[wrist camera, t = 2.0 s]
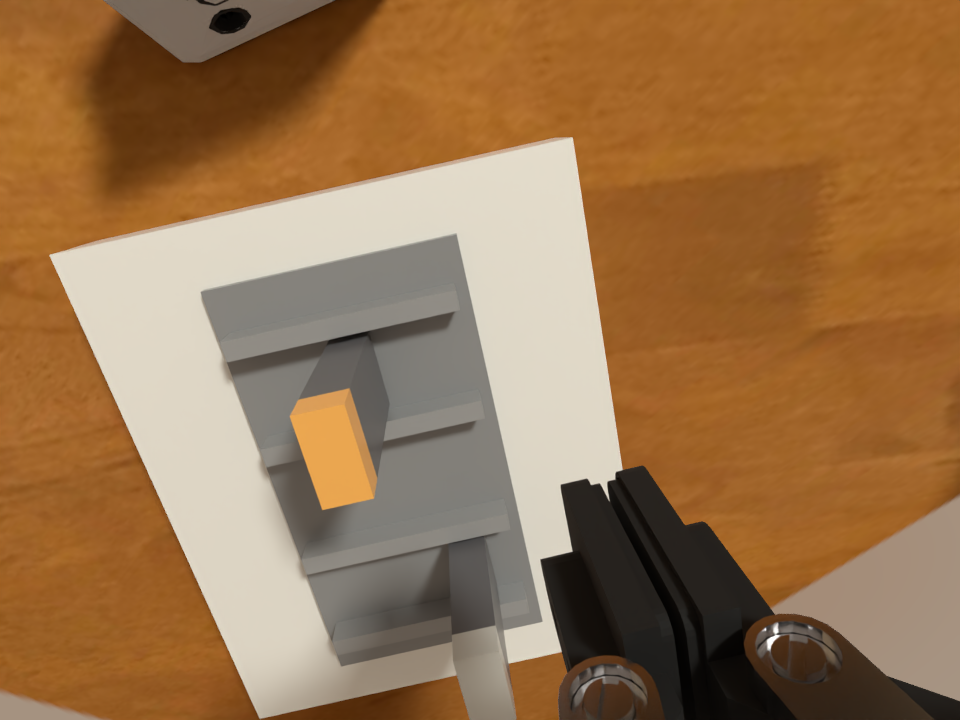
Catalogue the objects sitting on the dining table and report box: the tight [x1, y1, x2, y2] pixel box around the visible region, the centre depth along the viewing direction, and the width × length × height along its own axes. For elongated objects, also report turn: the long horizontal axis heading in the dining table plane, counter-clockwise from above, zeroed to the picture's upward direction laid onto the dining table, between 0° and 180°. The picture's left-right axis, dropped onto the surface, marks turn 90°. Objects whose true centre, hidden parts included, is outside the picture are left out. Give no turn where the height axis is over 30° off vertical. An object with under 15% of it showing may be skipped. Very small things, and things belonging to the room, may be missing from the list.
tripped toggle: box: [290, 331, 390, 510], centre depth 22 cm, size 2×3×7 cm, turn 12°
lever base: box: [50, 137, 622, 720], centre depth 25 cm, size 20×24×11 cm
